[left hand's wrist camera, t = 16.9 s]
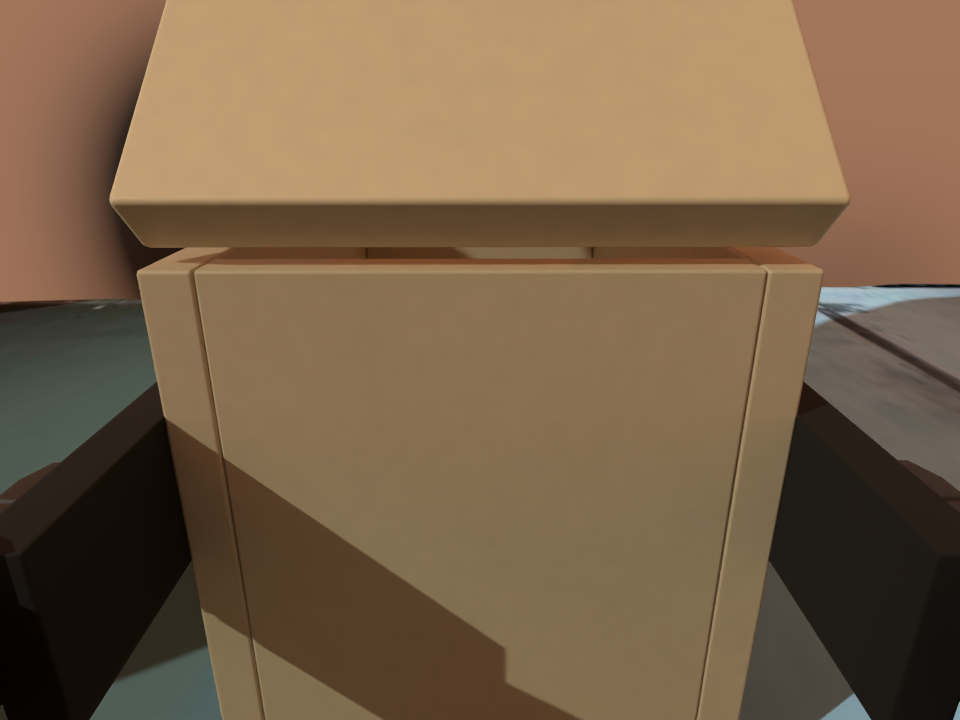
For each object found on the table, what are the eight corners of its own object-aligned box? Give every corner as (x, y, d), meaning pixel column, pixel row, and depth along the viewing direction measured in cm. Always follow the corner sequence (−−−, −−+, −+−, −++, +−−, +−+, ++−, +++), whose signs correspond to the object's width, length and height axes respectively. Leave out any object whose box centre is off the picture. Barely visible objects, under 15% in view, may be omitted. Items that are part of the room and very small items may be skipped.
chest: (361, 439, 27) (341, 172, 23) (598, 439, 27) (617, 172, 23) (235, 795, 13) (134, 270, 9) (726, 794, 13) (827, 269, 9)
